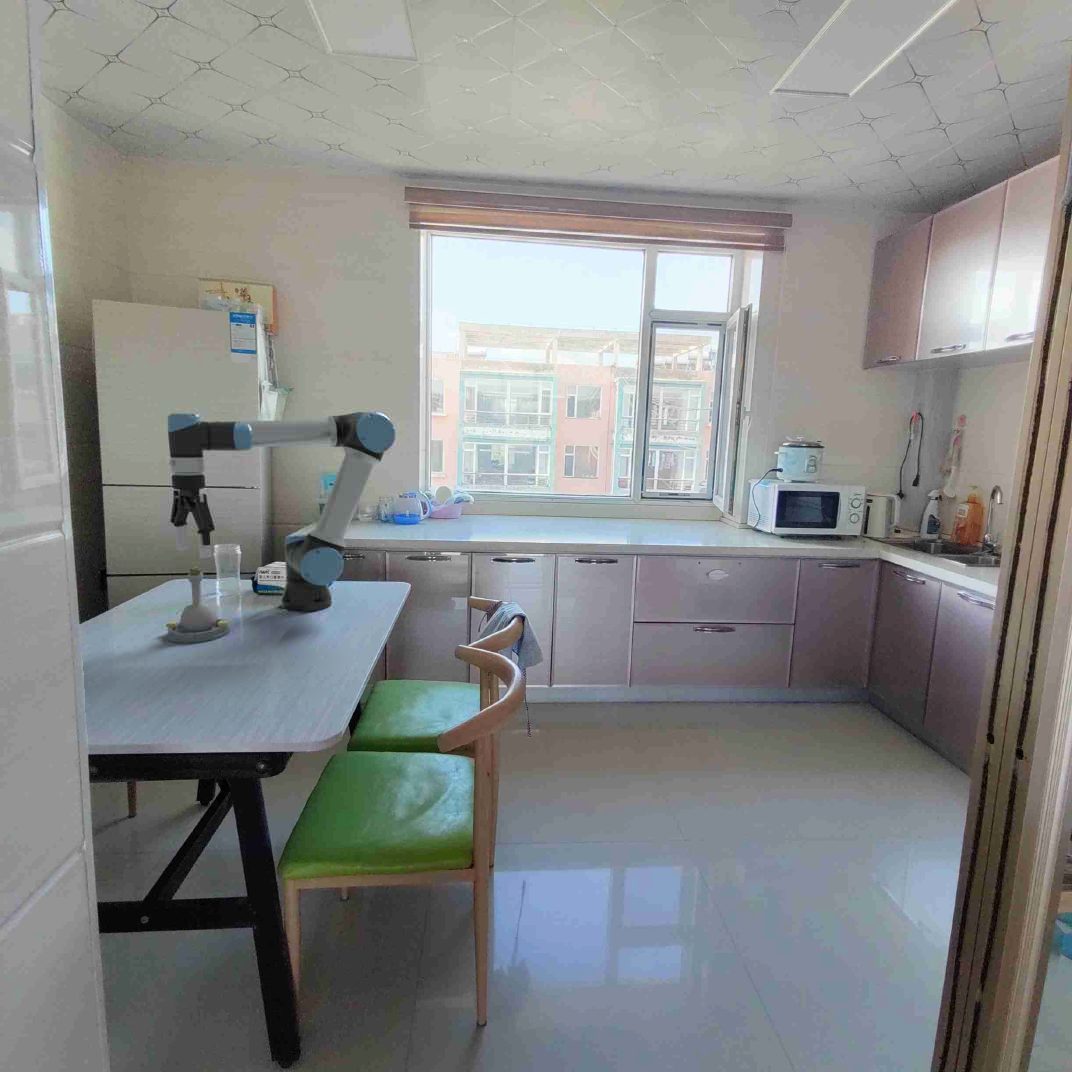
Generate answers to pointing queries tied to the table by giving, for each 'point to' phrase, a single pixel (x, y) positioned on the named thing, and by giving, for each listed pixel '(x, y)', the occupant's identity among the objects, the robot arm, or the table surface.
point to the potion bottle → (197, 607)
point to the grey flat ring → (180, 636)
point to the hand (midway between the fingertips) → (194, 553)
